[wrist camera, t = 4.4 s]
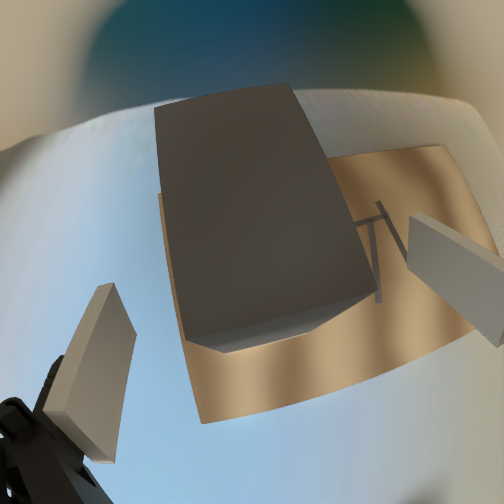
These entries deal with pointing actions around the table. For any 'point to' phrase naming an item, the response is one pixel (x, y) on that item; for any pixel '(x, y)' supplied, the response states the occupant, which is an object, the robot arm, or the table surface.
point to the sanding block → (254, 220)
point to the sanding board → (364, 312)
